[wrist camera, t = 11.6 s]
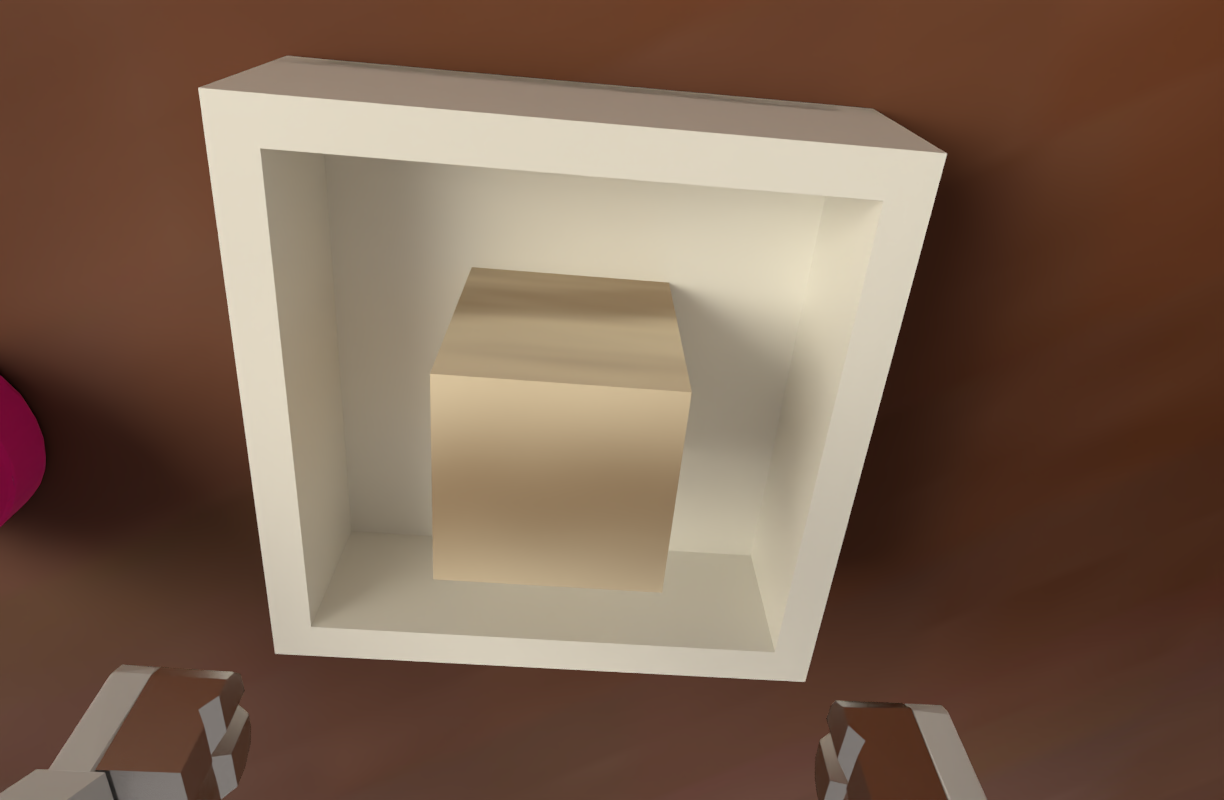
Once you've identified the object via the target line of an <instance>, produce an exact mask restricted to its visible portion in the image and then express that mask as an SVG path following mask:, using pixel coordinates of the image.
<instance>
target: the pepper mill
mask: <svg viewBox="0 0 1224 800" xmlns="http://www.w3.org/2000/svg"><path fill="white" fill-rule="evenodd" d="M45 466H46V454H45V444H44V437H43V435H42V432H41V430H40V427H39V424H38V422H37V419H36V418H35V416H34V414H33V413H32V411H31V410H30V408H29V406H28V405H27V403H26V402H25V400H24V398H23V397H22V395H21V394H20V393H19V392H18V391H17V390H16V389H15V388H14V387H12V386H11V385H10V384H9V383H8V382H7V381H6V380H5V379H4V378H3V377H2V376H1V375H0V527H1V526H2V525H3V524H4V523H5V522H6V521H7V520H8V519H9V518H11V517H12V516H13V515H14V514H15V513H16V512H17V511H18V510H19V509H20V508H21V507H22V506H23V505H24V504H25V503H26V502H27V501H28V500H29V499H30V498H31V496H32V495H33V494H34V493H35V491H36V490H37V488H38V487H39V485H40V484H41V481H42V478H43V475H44V472H45Z"/></svg>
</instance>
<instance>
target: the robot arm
mask: <svg viewBox="0 0 1224 800" xmlns="http://www.w3.org/2000/svg"><path fill="white" fill-rule="evenodd" d="M243 693H244V686H243V682H242V678H241V674H239V673H235V672H224V671H211V670H197V669H184V668H171V667H152V666H136V665H121V666H120V667H119V668H118V669H116V670H115V671H114V672H113V673H112V674H110V676H109V677H108V679H107V680H106V682H105V684H104V685H103V687H102V688H101V690H100V691H99V693H98V694H97V696H96V697H95V699H94V700H93V702H92V703H91V705H90V707H89V708H88V710H87V711H86V713H85V714H84V716H83V717H82V719H81V720H80V722H79V723H78V725H77V727H76V728H75V730H74V731H73V733H72V734H71V736H70V737H69V739H68V740H67V742H66V743H65V745H64V746H63V748H62V750H61V751H60V753H59V754H58V756H57V757H56V759H55V760H54V762H53V763H52V765H51V766H50V768H49V769H48V770H46V769H36V770H35V771H33V772H32V773H30V774H29V775H27V776H26V777H24V778H23V779H21V780H20V781H18V782H17V783H15V784H14V785H12V786H11V787H9V788H7V789H6V790H4V791H3V792H1V793H0V800H221V799H222V798H223V797H225V796H226V795H227V794H228V793H230V792H231V791H232V790H233V789H235V788H236V787H237V786H238V784H239V781H240V779H241V776H242V774H243V771H244V769H245V766H246V762H247V757H248V752H249V748H250V743H251V724H250V718H249V714H248V713H247V712H246V711H245V710H244V709H243V708H242V707H240V706H239V705H238V704H239V702H240V700H241V698H242V696H243ZM826 719H827V723H828V727H829V730H830V733H829V734H828V735H826V736H825V737H824V738H822V739H821V740H820V741H819V745H818V749H817V753H816V757H815V784H816V792H817V797H818V800H987V798H986V796H985V794H984V791H983V789H982V787H981V785H980V782H979V780H978V778H977V776H976V774H975V771H974V769H973V767H972V765H971V762H970V760H969V758H968V756H967V753H966V751H965V749H964V747H963V745H962V742H961V740H960V738H959V736H958V733H957V731H956V729H955V727H954V725H953V722H952V720H951V718H950V716H949V713H948V711H947V710H946V709H945V708H944V707H943V706H942V705H924V704H903V703H888V702H860V701H835V702H834V703H833V704H832V705H831V706H830V709H829V712H828V715H827V718H826Z"/></svg>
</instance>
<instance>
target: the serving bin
mask: <svg viewBox="0 0 1224 800" xmlns="http://www.w3.org/2000/svg"><path fill="white" fill-rule="evenodd" d="M198 89H199V97H200V104H201V112H202V119H203V126H204V134H205V141H206V148H207V156H208V163H209V170H210V178H211V185H212V192H213V200H214V207H215V215H216V222H217V229H218V237H219V244H220V251H221V259H222V266H223V273H224V281H225V288H226V295H227V303H228V310H229V318H230V325H231V332H232V340H233V347H234V354H235V362H236V369H237V376H238V384H239V391H240V398H241V406H242V413H243V421H244V428H245V435H246V443H247V450H248V457H249V465H250V472H251V479H252V487H253V494H254V501H255V509H256V516H257V524H258V531H259V538H260V546H261V553H262V560H263V568H264V575H265V582H266V590H267V597H268V604H269V612H270V619H271V627H272V634H273V641H274V649H275V654H290V655H309V656H328V657H346V658H365V659H384V660H403V661H422V662H440V663H459V664H478V665H497V666H516V667H534V668H553V669H572V670H591V671H609V672H628V673H647V674H666V675H685V676H703V677H722V678H741V679H760V680H779V681H797V682H805V680H806V676H807V673H808V669H809V665H810V661H811V658H812V654H813V650H814V647H815V643H816V639H817V635H818V632H819V628H820V624H821V621H822V617H823V613H824V609H825V606H826V602H827V598H828V595H829V591H830V587H831V583H832V580H833V576H834V572H835V569H836V565H837V561H838V557H839V554H840V550H841V546H842V543H843V539H844V535H845V531H846V528H847V524H848V520H849V516H850V513H851V509H852V505H853V502H854V498H855V494H856V490H857V487H858V483H859V479H860V476H861V472H862V468H863V464H864V461H865V457H866V453H867V450H868V446H869V442H870V438H871V435H872V431H873V427H874V424H875V420H876V416H877V412H878V409H879V405H880V401H881V398H882V394H883V390H884V386H885V383H886V379H887V375H888V372H889V368H890V364H891V360H892V357H893V353H894V349H895V346H896V342H897V338H898V334H899V331H900V327H901V323H902V320H903V316H904V312H905V308H906V305H907V301H908V297H909V294H910V290H911V286H912V282H913V279H914V275H915V271H916V268H917V264H918V260H919V256H920V253H921V249H922V245H923V242H924V238H925V234H926V230H927V227H928V223H929V219H930V216H931V212H932V208H933V204H934V201H935V197H936V193H937V189H938V186H939V182H940V178H941V175H942V171H943V167H944V163H945V160H946V156H947V153H946V152H944V151H942V150H941V149H939V148H937V147H936V146H934V145H932V144H931V143H929V142H927V141H926V140H924V139H922V138H921V137H919V136H917V135H916V134H914V133H912V132H911V131H909V130H907V129H906V128H904V127H903V126H901V125H899V124H898V123H896V122H894V121H893V120H891V119H889V118H888V117H886V116H884V115H883V114H881V113H879V112H878V111H876V110H874V109H872V108H861V107H850V106H839V105H828V104H817V103H806V102H794V101H783V100H772V99H761V98H750V97H739V96H728V95H717V94H706V93H695V92H684V91H672V90H661V89H650V88H639V87H628V86H617V85H606V84H595V83H584V82H573V81H562V80H550V79H539V78H528V77H517V76H506V75H495V74H484V73H473V72H462V71H451V70H439V69H428V68H417V67H406V66H395V65H384V64H373V63H362V62H351V61H340V60H329V59H317V58H306V57H295V56H285V57H282V58H279V59H277V60H274V61H271V62H268V63H266V64H263V65H260V66H257V67H254V68H252V69H249V70H246V71H243V72H241V73H238V74H235V75H232V76H230V77H227V78H224V79H221V80H218V81H216V82H213V83H210V84H207V85H205V86H202V87H199V88H198ZM472 267H476V268H489V269H502V270H515V271H527V272H540V273H553V274H566V275H579V276H591V277H604V278H617V279H630V280H643V281H656V282H668V283H669V285H670V289H671V294H672V299H673V304H674V309H675V314H676V318H677V323H678V328H679V333H680V338H681V343H682V347H683V352H684V357H685V362H686V367H687V371H688V376H689V381H690V386H691V391H692V395H691V401H690V408H689V415H688V421H687V428H686V435H685V442H684V448H683V455H682V462H681V469H680V475H679V482H678V489H677V495H676V502H675V509H674V516H673V522H672V529H671V536H670V542H669V549H668V556H667V563H666V569H665V576H664V583H663V590H662V593H658V592H641V591H624V590H607V589H590V588H573V587H556V586H538V585H521V584H504V583H487V582H470V581H453V580H436V579H433V535H432V472H431V410H430V372H431V370H432V367H433V365H434V362H435V360H436V357H437V354H438V352H439V349H440V347H441V344H442V342H443V339H444V337H445V334H446V331H447V329H448V326H449V324H450V321H451V319H452V316H453V314H454V311H455V309H456V306H457V303H458V301H459V298H460V296H461V293H462V291H463V288H464V286H465V283H466V281H467V278H468V275H469V273H470V270H471V268H472Z"/></svg>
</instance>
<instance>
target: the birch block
mask: <svg viewBox="0 0 1224 800" xmlns="http://www.w3.org/2000/svg"><path fill="white" fill-rule="evenodd" d="M691 395H692V391H691V386H690V381H689V376H688V371H687V367H686V362H685V357H684V352H683V347H682V343H681V338H680V333H679V328H678V323H677V318H676V314H675V309H674V304H673V299H672V294H671V289H670V285H669V283H668V282H656V281H643V280H630V279H617V278H604V277H591V276H579V275H566V274H553V273H540V272H527V271H515V270H502V269H489V268H476V267H472V268H471V270H470V273H469V275H468V278H467V281H466V283H465V286H464V288H463V291H462V293H461V296H460V298H459V301H458V303H457V306H456V309H455V311H454V314H453V316H452V319H451V321H450V324H449V326H448V329H447V331H446V334H445V337H444V339H443V342H442V344H441V347H440V349H439V352H438V354H437V357H436V360H435V362H434V365H433V367H432V370H431V372H430V410H431V472H432V535H433V579H436V580H453V581H470V582H487V583H504V584H521V585H538V586H556V587H573V588H590V589H607V590H624V591H641V592H658V593H662V590H663V583H664V576H665V569H666V563H667V556H668V549H669V542H670V536H671V529H672V522H673V516H674V509H675V502H676V495H677V489H678V482H679V475H680V469H681V462H682V455H683V448H684V442H685V435H686V428H687V421H688V415H689V408H690V401H691Z"/></svg>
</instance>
